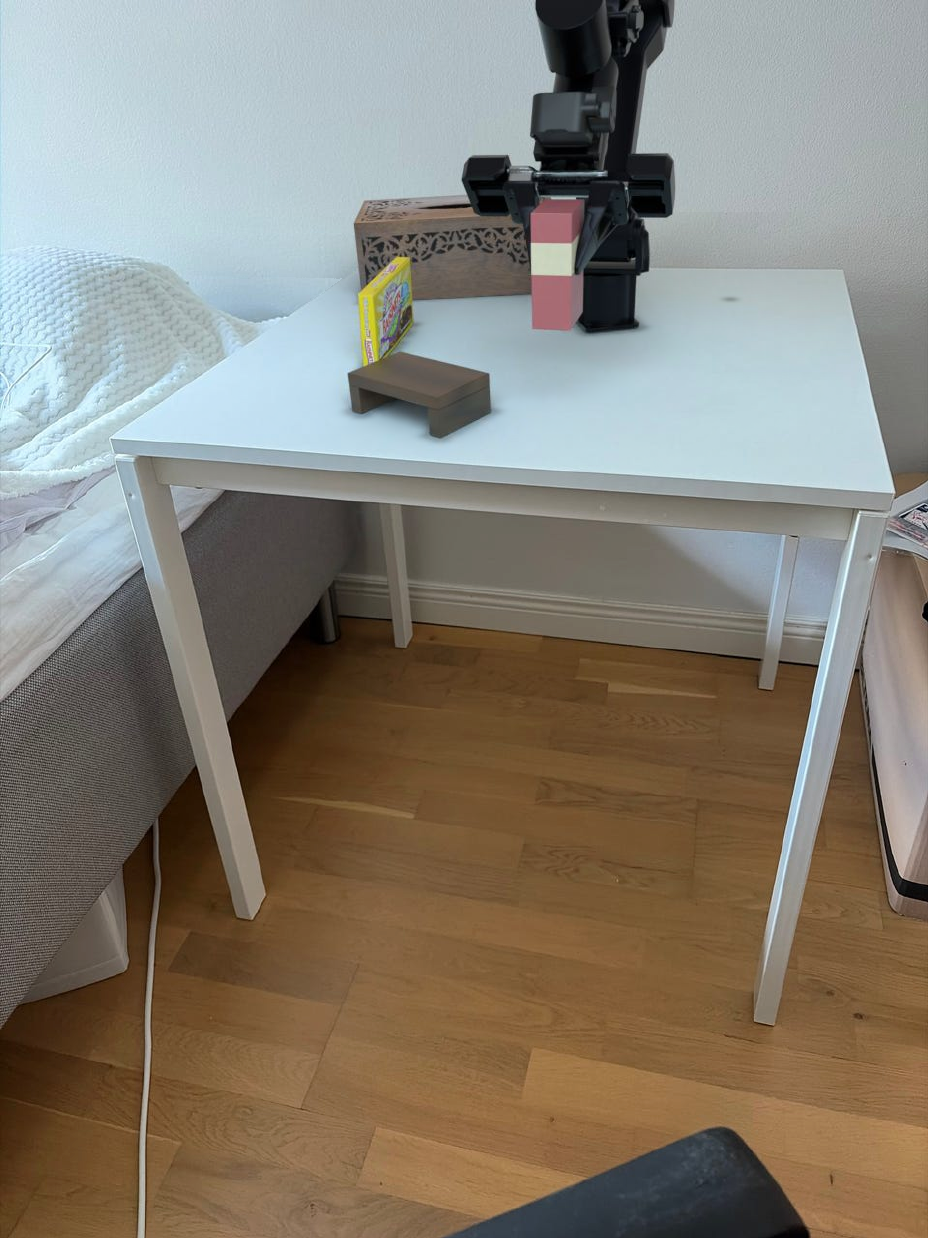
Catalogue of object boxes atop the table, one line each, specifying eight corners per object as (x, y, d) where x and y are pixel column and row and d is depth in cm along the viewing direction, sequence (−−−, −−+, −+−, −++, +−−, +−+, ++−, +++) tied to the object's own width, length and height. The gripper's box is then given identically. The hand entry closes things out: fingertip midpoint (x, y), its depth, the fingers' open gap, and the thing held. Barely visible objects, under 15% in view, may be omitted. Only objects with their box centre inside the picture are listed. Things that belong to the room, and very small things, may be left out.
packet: (545, 310, 92) (544, 198, 86) (583, 311, 91) (584, 198, 85) (531, 329, 87) (530, 212, 82) (571, 330, 86) (571, 213, 81)
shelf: (403, 388, 101) (399, 350, 99) (491, 412, 94) (489, 372, 92) (352, 411, 96) (347, 372, 94) (440, 438, 90) (437, 397, 87)
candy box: (381, 370, 106) (372, 294, 101) (362, 370, 106) (353, 294, 102) (416, 324, 119) (410, 255, 114) (399, 324, 119) (393, 255, 115)
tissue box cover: (548, 264, 139) (548, 189, 133) (555, 292, 127) (555, 211, 121) (372, 273, 140) (364, 200, 134) (362, 302, 128) (353, 223, 122)
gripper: (461, 53, 83) (430, 218, 80) (681, 44, 78) (655, 219, 75) (489, 138, 93) (463, 286, 91) (684, 135, 88) (661, 292, 86)
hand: (554, 271), depth 85 cm, fingers closed on packet, 4 cm apart
